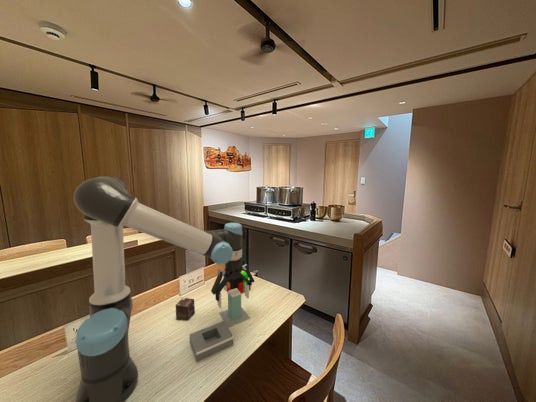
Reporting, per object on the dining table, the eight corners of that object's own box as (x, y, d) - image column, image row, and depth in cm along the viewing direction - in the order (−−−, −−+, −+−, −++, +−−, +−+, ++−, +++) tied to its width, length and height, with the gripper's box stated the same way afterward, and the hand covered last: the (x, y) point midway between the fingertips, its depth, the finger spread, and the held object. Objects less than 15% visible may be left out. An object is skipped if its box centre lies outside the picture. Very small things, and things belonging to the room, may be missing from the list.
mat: (227, 328, 91) (227, 327, 91) (218, 314, 100) (218, 312, 100) (250, 319, 97) (250, 318, 97) (239, 306, 106) (239, 305, 106)
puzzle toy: (223, 289, 121) (223, 273, 119) (238, 283, 127) (238, 267, 126) (233, 297, 113) (233, 279, 112) (248, 290, 120) (248, 273, 119)
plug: (232, 320, 95) (231, 295, 93) (228, 314, 99) (227, 290, 97) (241, 316, 97) (241, 292, 96) (237, 311, 101) (236, 287, 99)
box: (187, 322, 94) (187, 307, 93) (175, 320, 96) (175, 305, 95) (195, 313, 100) (194, 298, 99) (183, 311, 102) (183, 297, 100)
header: (196, 363, 74) (196, 353, 74) (189, 343, 83) (189, 334, 82) (233, 346, 82) (233, 337, 81) (223, 329, 90) (223, 320, 90)
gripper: (208, 267, 84) (209, 315, 87) (261, 254, 98) (261, 297, 101) (203, 260, 90) (204, 306, 93) (254, 249, 104) (253, 289, 107)
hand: (233, 301), depth 97 cm, fingers open, 13 cm apart
